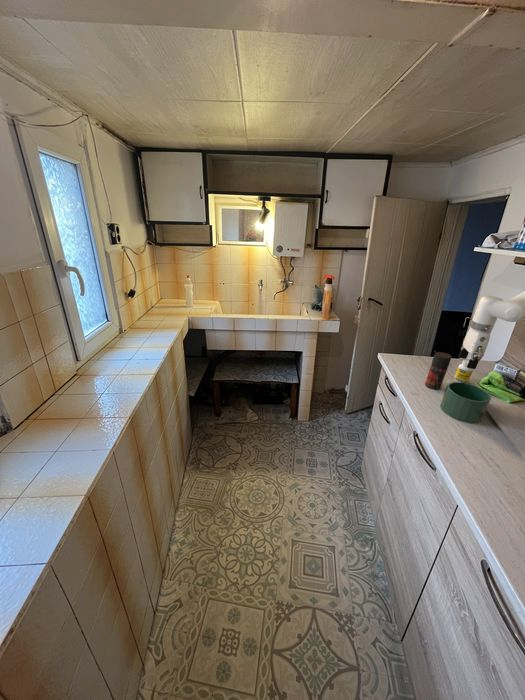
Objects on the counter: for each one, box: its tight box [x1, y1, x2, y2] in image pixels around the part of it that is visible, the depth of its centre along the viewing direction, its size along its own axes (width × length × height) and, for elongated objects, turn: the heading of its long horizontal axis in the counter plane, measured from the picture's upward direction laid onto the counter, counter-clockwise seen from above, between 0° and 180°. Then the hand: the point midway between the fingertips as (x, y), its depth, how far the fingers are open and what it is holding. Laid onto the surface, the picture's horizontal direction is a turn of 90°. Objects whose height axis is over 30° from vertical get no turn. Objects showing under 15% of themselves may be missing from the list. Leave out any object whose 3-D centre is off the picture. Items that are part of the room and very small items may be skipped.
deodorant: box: [424, 351, 452, 391], centre depth 118 cm, size 6×6×15 cm
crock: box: [439, 381, 492, 424], centre depth 104 cm, size 13×13×9 cm
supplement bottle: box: [453, 359, 474, 384], centre depth 124 cm, size 5×5×10 cm
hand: (466, 363), depth 123 cm, fingers open, 9 cm apart
